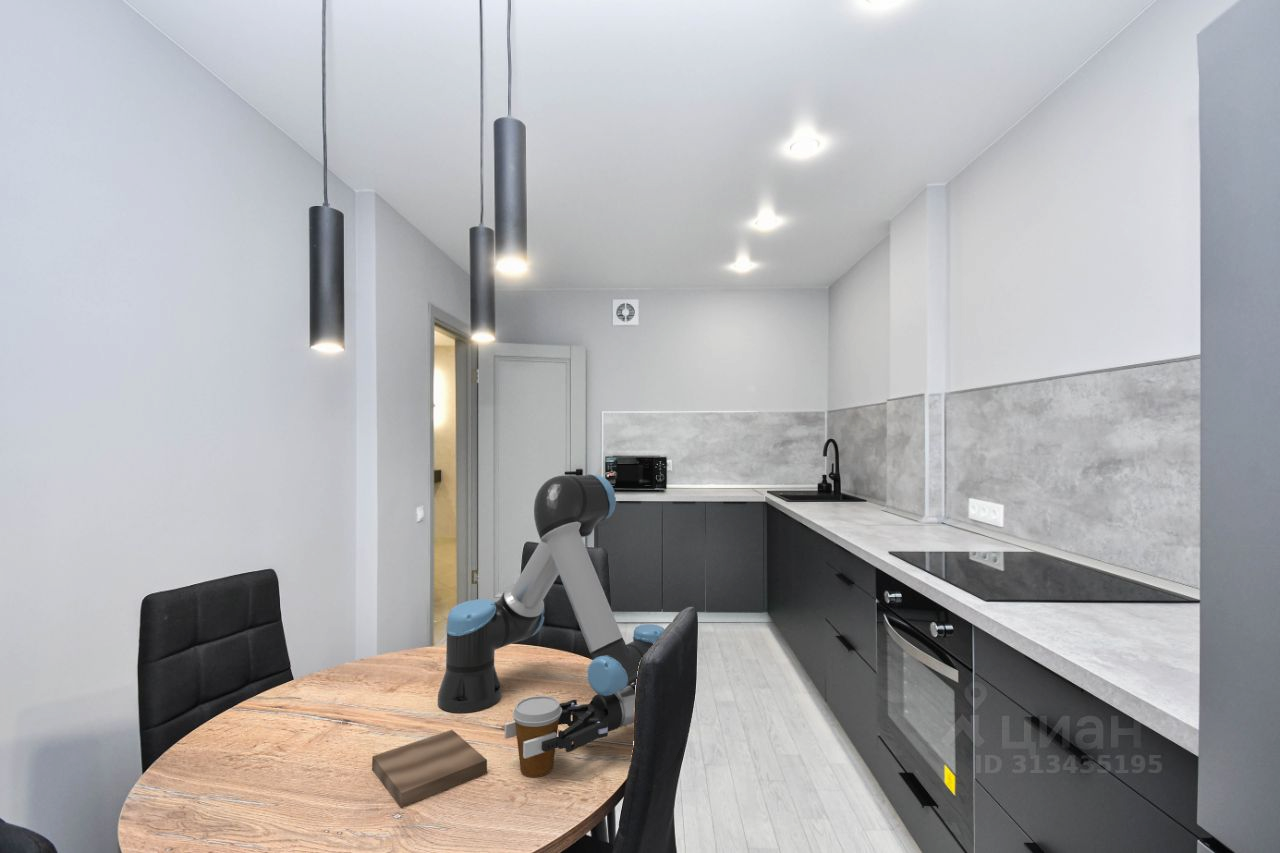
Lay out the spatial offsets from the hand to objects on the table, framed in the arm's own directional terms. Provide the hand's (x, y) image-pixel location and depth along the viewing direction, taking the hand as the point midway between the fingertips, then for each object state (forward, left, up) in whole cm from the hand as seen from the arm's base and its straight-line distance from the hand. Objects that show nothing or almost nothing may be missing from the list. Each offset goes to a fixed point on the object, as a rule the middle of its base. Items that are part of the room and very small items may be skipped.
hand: (514, 740), depth 106 cm
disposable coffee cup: (0, +5, -7) cm, 8 cm away
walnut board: (-13, -11, -7) cm, 18 cm away
